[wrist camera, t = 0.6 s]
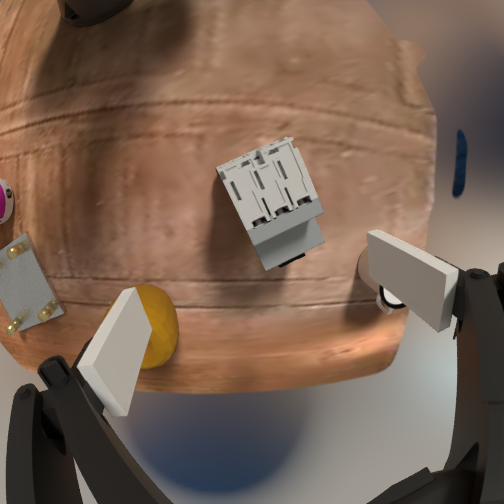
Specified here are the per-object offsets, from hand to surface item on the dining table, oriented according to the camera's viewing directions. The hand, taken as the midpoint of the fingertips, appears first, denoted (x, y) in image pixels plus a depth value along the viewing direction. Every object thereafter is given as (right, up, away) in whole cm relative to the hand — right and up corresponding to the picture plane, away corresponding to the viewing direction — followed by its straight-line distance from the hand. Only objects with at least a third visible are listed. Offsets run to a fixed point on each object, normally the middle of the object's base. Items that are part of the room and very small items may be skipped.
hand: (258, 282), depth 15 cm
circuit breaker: (+1, +9, +26) cm, 27 cm away
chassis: (-44, -5, +24) cm, 50 cm away
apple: (-17, -7, +28) cm, 34 cm away
